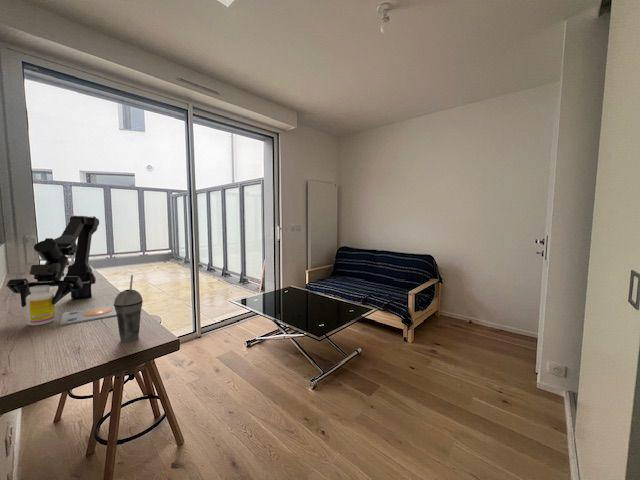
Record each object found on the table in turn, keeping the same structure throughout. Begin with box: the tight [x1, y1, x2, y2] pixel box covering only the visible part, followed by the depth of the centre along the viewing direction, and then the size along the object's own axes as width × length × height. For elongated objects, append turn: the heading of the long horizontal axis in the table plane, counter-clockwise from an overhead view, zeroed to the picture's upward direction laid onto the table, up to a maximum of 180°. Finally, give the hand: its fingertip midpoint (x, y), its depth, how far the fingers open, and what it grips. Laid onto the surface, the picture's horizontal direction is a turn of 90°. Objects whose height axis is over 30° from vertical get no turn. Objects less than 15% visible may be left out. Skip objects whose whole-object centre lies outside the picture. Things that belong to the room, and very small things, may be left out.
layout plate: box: [59, 304, 117, 327], centre depth 98 cm, size 16×14×1 cm
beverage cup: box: [113, 274, 144, 343], centre depth 78 cm, size 7×7×20 cm
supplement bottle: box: [25, 285, 56, 326], centre depth 89 cm, size 7×7×13 cm
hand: (38, 305), depth 88 cm, fingers open, 7 cm apart
